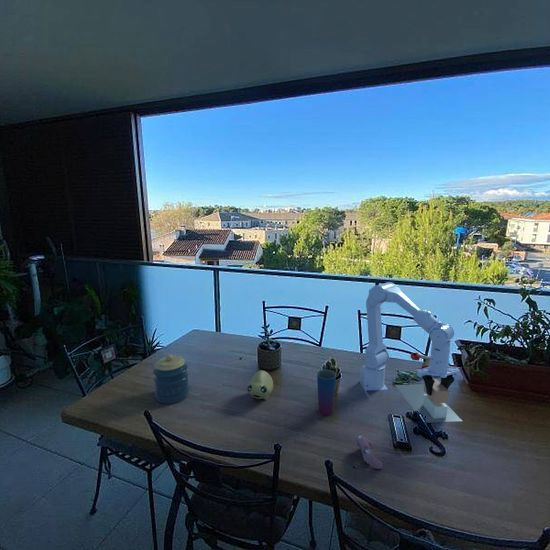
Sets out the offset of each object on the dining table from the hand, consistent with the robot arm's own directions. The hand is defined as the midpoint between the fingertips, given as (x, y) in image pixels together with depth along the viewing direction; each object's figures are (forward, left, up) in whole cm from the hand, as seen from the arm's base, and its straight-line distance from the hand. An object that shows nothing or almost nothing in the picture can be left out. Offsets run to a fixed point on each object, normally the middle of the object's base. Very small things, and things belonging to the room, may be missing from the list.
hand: (435, 393), depth 116 cm
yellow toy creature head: (-63, +13, -8) cm, 65 cm away
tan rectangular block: (0, 0, -1) cm, 1 cm away
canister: (-98, +17, -8) cm, 100 cm away
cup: (-39, +3, -8) cm, 40 cm away
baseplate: (0, +6, -8) cm, 10 cm away
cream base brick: (0, 0, -7) cm, 7 cm away
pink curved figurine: (-31, -20, -8) cm, 38 cm away
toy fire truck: (+11, +27, -8) cm, 30 cm away
